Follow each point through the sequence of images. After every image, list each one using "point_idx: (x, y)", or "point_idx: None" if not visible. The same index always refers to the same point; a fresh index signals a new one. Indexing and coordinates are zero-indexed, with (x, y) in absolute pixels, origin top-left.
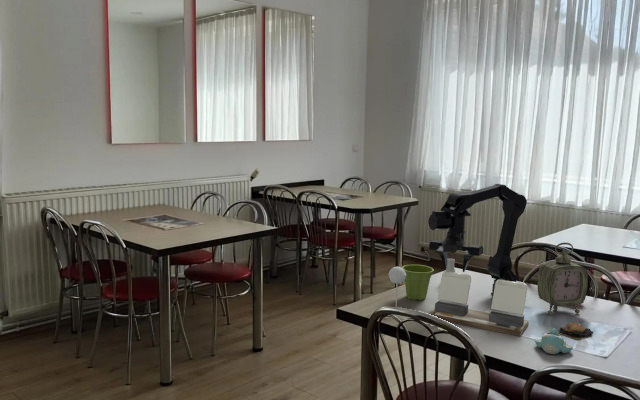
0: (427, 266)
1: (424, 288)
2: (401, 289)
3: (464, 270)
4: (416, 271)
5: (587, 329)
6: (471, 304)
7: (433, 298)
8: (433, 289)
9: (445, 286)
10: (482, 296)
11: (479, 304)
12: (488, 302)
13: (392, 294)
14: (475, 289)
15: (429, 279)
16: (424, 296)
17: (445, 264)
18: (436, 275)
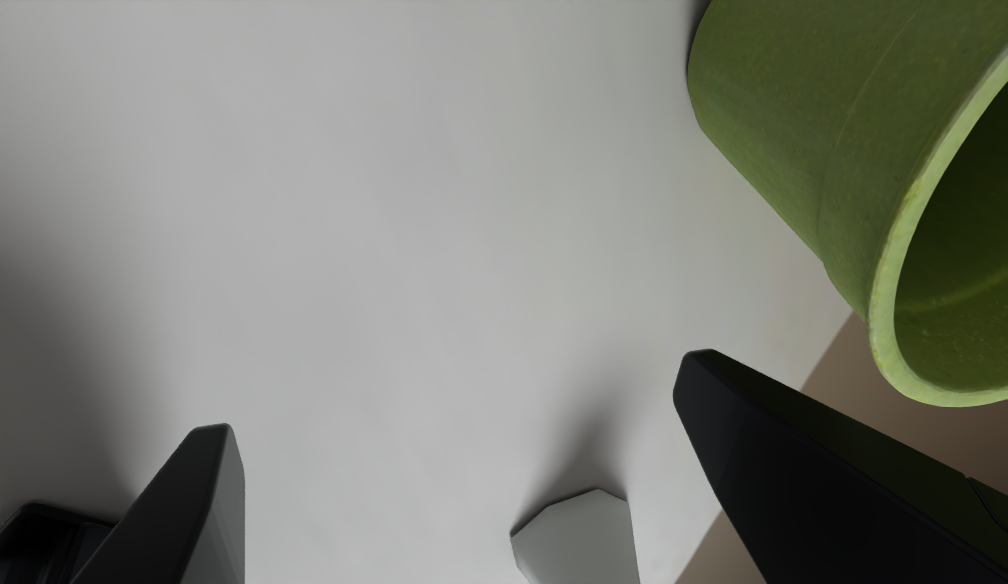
0: (944, 397)
1: (794, 10)
2: None
3: (172, 481)
4: (994, 291)
5: None
6: (158, 186)
7: (610, 130)
8: (653, 360)
9: None
10: None
11: (80, 243)
12: (48, 363)
13: None
14: (361, 548)
15: (818, 141)
16: (715, 24)
17: (784, 425)
18: (675, 576)
